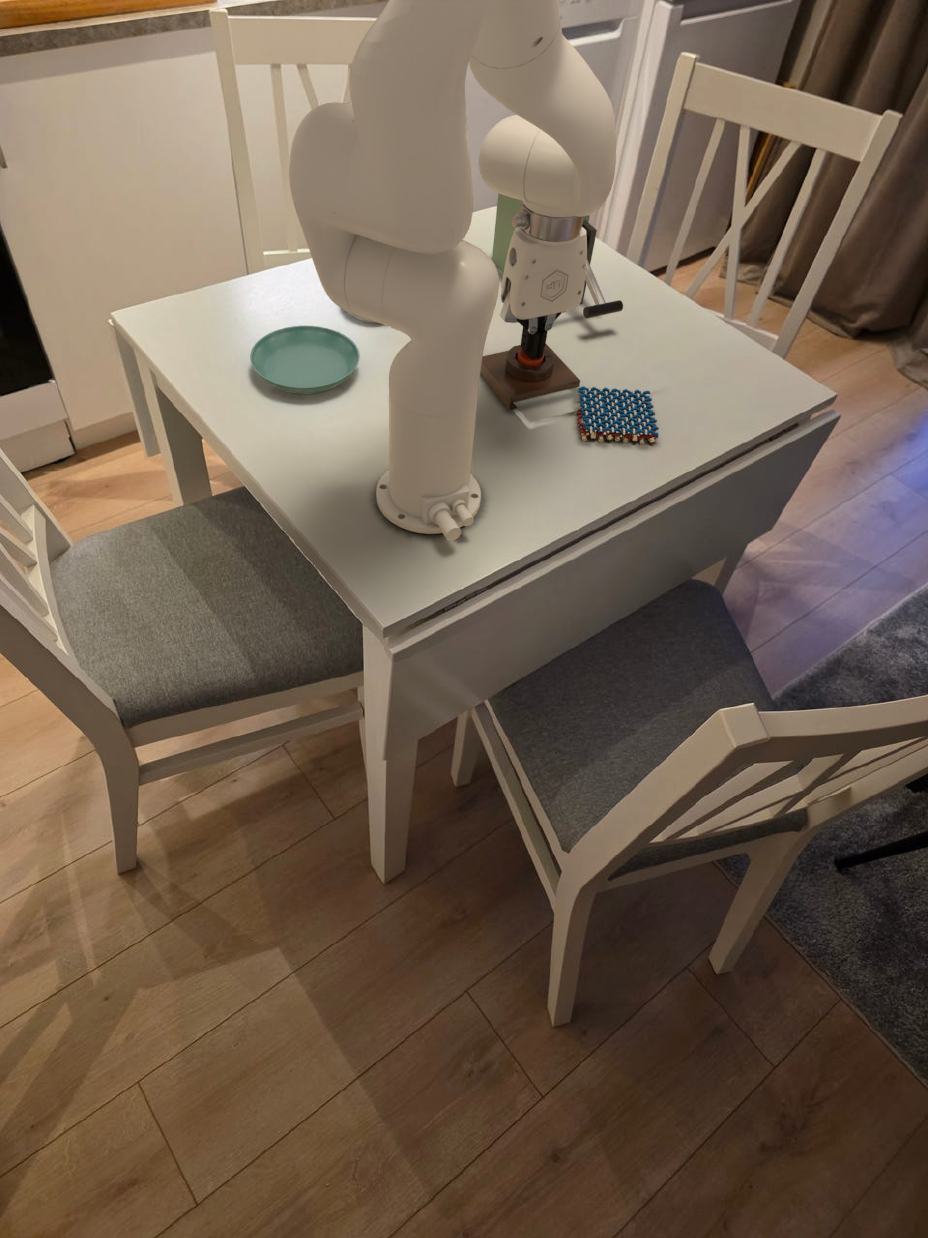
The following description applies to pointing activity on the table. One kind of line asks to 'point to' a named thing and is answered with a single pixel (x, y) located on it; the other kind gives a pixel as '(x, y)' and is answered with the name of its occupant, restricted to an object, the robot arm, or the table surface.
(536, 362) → the button
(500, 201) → the toaster
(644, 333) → the table surface
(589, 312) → the lever
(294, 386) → the saucer
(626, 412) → the woven mat
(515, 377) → the control block
